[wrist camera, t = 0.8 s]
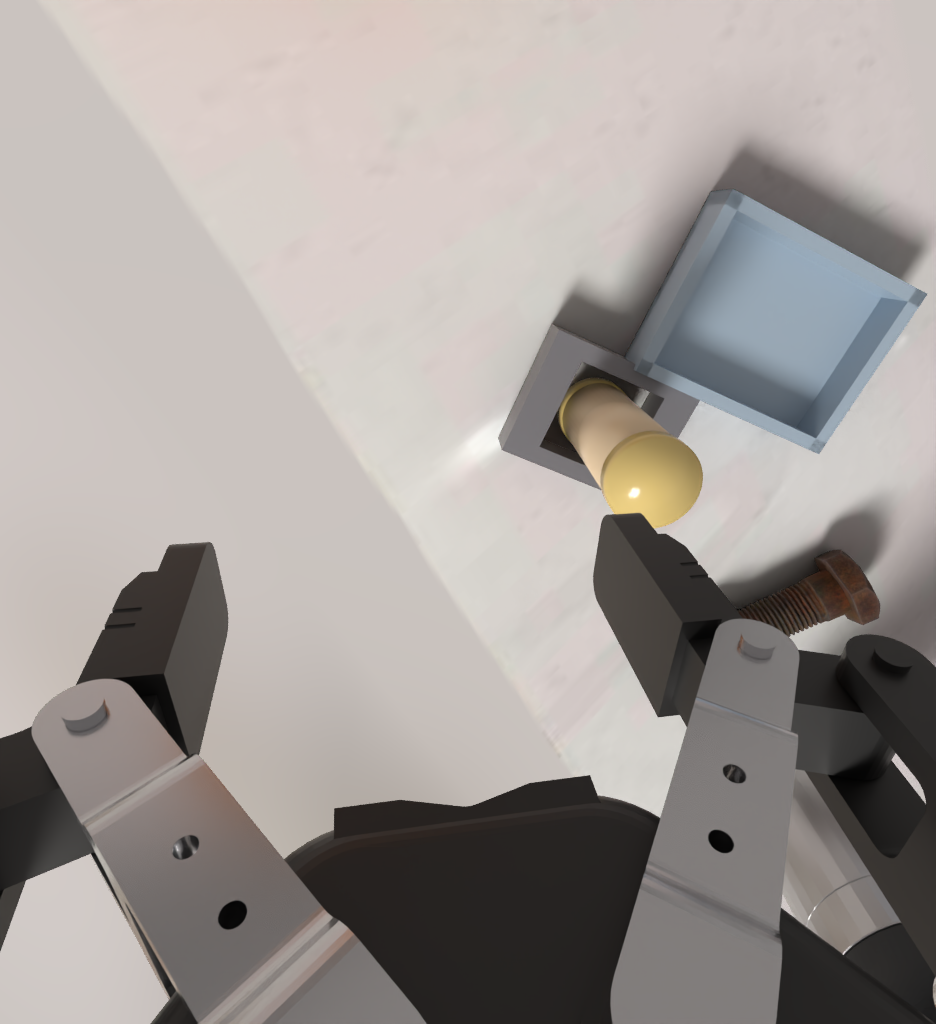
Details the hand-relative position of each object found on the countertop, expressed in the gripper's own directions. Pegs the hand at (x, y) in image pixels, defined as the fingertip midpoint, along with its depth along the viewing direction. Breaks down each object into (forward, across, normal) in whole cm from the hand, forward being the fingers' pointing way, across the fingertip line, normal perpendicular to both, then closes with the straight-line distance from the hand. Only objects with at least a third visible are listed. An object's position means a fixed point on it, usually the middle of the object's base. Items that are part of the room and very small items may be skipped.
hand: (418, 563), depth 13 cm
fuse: (+27, +14, -8) cm, 31 cm away
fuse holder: (+27, +14, -8) cm, 31 cm away
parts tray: (+26, +24, -2) cm, 35 cm away
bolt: (+24, +27, -24) cm, 43 cm away
